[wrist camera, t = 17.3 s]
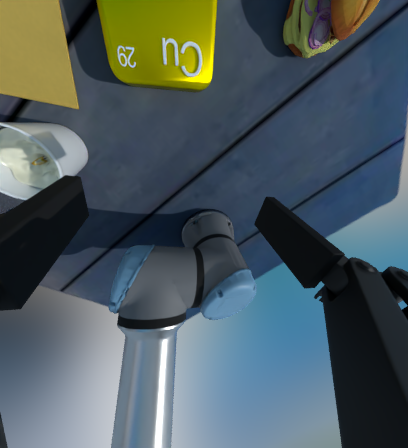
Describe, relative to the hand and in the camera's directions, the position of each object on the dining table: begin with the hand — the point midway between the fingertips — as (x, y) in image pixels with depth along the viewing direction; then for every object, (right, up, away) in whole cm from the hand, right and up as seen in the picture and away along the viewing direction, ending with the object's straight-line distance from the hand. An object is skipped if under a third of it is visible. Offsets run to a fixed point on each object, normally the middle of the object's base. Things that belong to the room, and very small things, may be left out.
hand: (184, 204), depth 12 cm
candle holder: (-25, +13, +18) cm, 34 cm away
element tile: (-5, +29, +12) cm, 31 cm away
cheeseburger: (+19, +33, +15) cm, 41 cm away
